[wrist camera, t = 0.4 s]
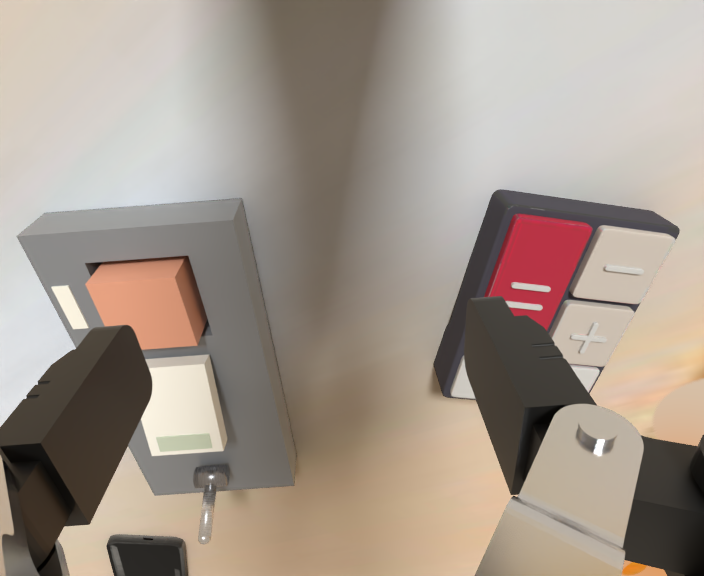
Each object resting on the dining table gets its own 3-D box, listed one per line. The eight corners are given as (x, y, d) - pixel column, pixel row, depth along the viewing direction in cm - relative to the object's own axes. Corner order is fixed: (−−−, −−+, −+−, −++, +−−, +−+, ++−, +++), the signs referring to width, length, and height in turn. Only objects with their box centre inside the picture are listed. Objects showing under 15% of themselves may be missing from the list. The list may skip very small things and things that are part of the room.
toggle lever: (194, 464, 36) (183, 543, 33) (225, 461, 36) (217, 541, 33) (201, 469, 38) (191, 546, 34) (230, 467, 38) (223, 544, 34)
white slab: (133, 360, 31) (125, 370, 29) (209, 354, 30) (203, 364, 29) (158, 444, 33) (151, 457, 32) (227, 439, 33) (223, 452, 32)
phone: (122, 605, 56) (104, 541, 48) (125, 595, 57) (109, 530, 48) (189, 607, 57) (183, 544, 48) (191, 597, 58) (186, 534, 49)
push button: (105, 258, 28) (85, 284, 26) (187, 252, 28) (174, 277, 26) (132, 323, 31) (116, 351, 28) (207, 317, 31) (197, 345, 28)
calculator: (693, 232, 27) (586, 417, 34) (648, 205, 30) (561, 377, 38) (512, 208, 25) (443, 405, 33) (489, 182, 29) (431, 365, 37)
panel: (44, 213, 28) (10, 241, 25) (241, 198, 28) (230, 224, 25) (165, 464, 42) (152, 502, 39) (296, 455, 42) (293, 492, 39)
